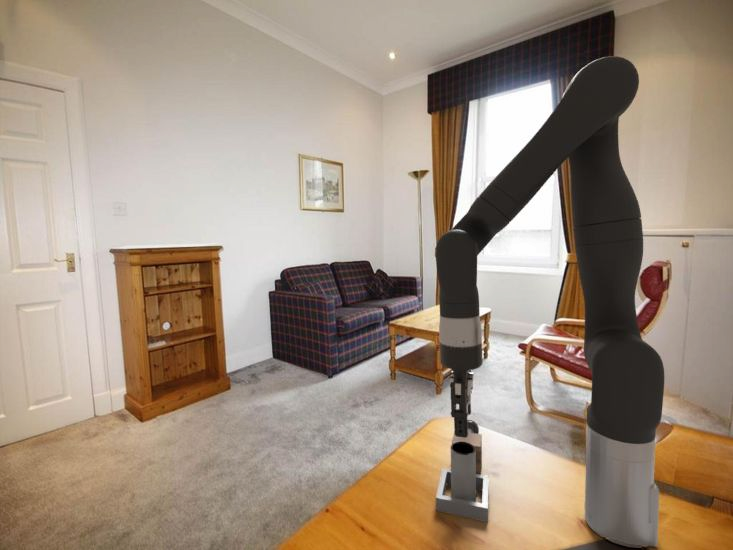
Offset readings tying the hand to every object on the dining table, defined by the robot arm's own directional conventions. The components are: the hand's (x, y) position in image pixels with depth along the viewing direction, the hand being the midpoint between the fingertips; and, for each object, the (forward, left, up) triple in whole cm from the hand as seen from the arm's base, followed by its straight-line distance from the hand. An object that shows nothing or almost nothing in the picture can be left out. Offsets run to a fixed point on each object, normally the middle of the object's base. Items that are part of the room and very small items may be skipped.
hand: (463, 424), depth 66 cm
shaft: (0, -15, -13) cm, 20 cm away
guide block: (0, -10, -15) cm, 18 cm away
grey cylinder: (0, 0, -15) cm, 15 cm away
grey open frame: (0, 0, -15) cm, 15 cm away
